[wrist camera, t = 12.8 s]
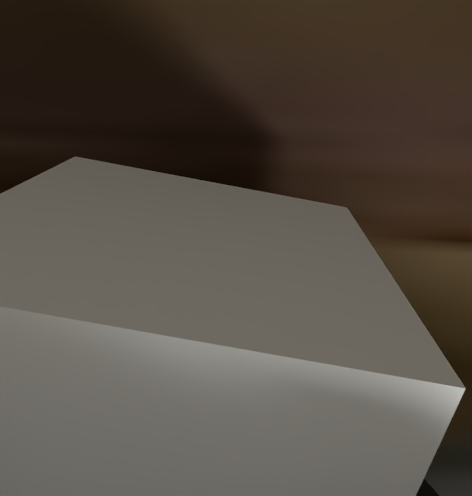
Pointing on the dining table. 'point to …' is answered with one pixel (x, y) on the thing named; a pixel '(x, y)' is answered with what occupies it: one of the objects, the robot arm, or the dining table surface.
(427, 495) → the robot arm
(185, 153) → the dining table surface
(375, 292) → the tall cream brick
